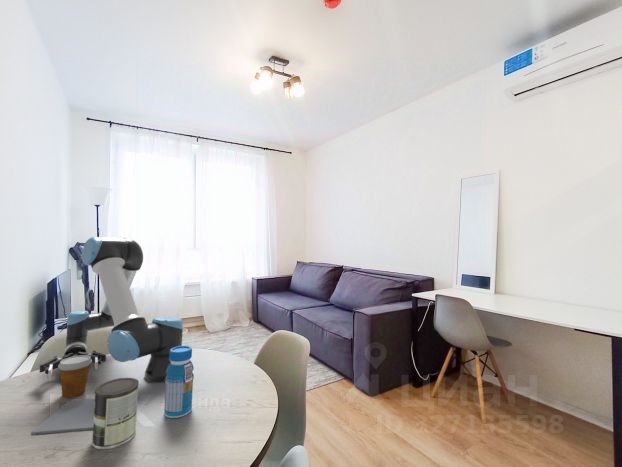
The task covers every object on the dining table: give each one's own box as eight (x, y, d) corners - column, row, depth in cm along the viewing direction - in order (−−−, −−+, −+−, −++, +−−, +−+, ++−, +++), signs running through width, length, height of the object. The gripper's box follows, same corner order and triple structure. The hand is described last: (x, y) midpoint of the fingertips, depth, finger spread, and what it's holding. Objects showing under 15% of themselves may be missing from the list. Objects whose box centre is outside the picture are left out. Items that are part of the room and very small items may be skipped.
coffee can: (82, 450, 77) (85, 394, 78) (106, 426, 87) (109, 377, 88) (124, 449, 78) (127, 393, 79) (142, 426, 88) (145, 377, 89)
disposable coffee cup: (96, 390, 109) (98, 356, 110) (68, 402, 100) (70, 366, 101) (78, 385, 112) (80, 353, 113) (49, 397, 103) (51, 362, 104)
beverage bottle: (163, 421, 90) (167, 354, 91) (163, 408, 98) (166, 346, 99) (193, 415, 94) (196, 350, 95) (190, 402, 102) (193, 343, 103)
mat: (128, 397, 104) (128, 396, 104) (103, 428, 86) (103, 426, 86) (70, 401, 101) (70, 400, 101) (31, 434, 83) (31, 432, 83)
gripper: (110, 356, 134) (113, 372, 117) (35, 368, 119) (26, 389, 102) (111, 339, 135) (114, 353, 118) (36, 349, 120) (28, 366, 103)
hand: (73, 369), depth 110 cm, fingers open, 13 cm apart
